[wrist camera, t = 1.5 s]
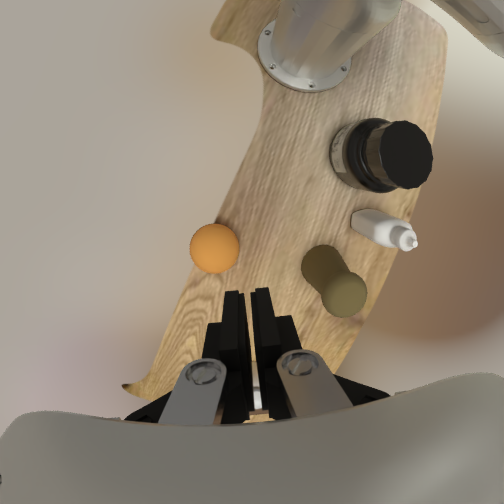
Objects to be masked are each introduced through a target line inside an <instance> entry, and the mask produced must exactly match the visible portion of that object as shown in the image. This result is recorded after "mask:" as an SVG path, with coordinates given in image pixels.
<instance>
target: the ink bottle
mask: <svg viewBox="0 0 504 504" xmlns="http://www.w3.org/2000/svg"><path fill="white" fill-rule="evenodd" d="M330 160H331V164H332V167H333V169H334V171H335V172H336V174H337V175H338V177H339V178H340V179H341V180H342V181H343V182H345V183H346V184H348V185H349V186H351V187H354V188H357V189H362V190H366V191H371V192H375V193H388V192H391V191H393V190H395V189H397V188H403V189H411V188H418V187H419V186H420V185H421V184H422V183H423V182H425V181H426V180H427V178H428V176H429V174H430V172H431V170H432V161H433V155H432V149H431V144H430V143H429V141H428V139H427V137H426V134H425V133H424V132H423V131H422V130H421V129H420V128H419V127H418V126H417V125H416V124H413V123H410V122H408V121H406V120H404V121H394V122H389V121H387V120H385V119H381V118H369V119H364V120H361V121H358V122H355V123H352V124H350V125H347V126H346V127H344V128H342V129H341V130H340V131H339V132H338V133H337V134H336V136H335V137H334V139H333V141H332V144H331V148H330Z"/></svg>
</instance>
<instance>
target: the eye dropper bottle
mask: <svg viewBox="0 0 504 504" xmlns="http://www.w3.org/2000/svg"><path fill="white" fill-rule="evenodd" d="M351 227H352V229H353V230H355V231H357V232H358V233H360V234H362V235H363V236H365V237H367V238H368V239H370V240H372V241H373V242H375V243H377V244H379V245H382V246H385V247H398V248H400V249H402V250H403V251H409V250H411V249H412V248H413V247H416V246H417V245H418V242H417V241H416V234H415V233H414V231H413V230H412V226H411V225H410V224H409V223H407V222H406V221H404V220H401V219H399V218H396V217H394V216H391V215H389V214H386V213H383V212H381V211H378V210H374V209H363V210H359V211H356V212H354V213H353V214H352V220H351Z"/></svg>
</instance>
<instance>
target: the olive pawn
mask: <svg viewBox="0 0 504 504" xmlns="http://www.w3.org/2000/svg"><path fill="white" fill-rule="evenodd" d="M301 271H302V274H303V276H304V278H305V279H306V280H307V281H308V282H309V283H310V284H311V285H312V286H313V287H314V288H315V289H316V290H317V291H318V292H319V293H320V294H321V299H322V302H323V305H324V307H325V308H326V310H327V311H328V312H329V313H330V314H332V315H334V316H335V317H340V318H344V317H350V316H353V315H355V314H356V313H358V312H359V311H360V310H361V309H362V307H363V306H364V304H365V302H366V299H367V287H366V284H365V283H364V281H363V279H362V278H361V277H360V276H358V275H357V274H356V273H353V272H350V271H349V269H348V267H347V265H346V264H345V262H344V260H343V259H342V257H341V255H340V254H339V252H338V251H337V250H336V249H335V248H333V247H332V246H328V245H319V246H316V247H313V248H312V249H311V250H309V251H308V252H307V254H306V255H305V256H304V258H303V261H302V264H301Z"/></svg>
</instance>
